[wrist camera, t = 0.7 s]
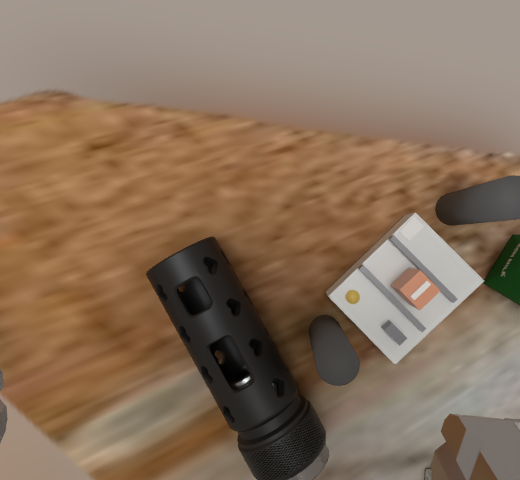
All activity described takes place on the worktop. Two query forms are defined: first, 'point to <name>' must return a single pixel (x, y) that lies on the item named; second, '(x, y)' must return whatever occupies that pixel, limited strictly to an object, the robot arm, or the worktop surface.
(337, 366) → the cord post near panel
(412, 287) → the block
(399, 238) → the panel
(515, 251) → the soya milk
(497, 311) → the worktop surface
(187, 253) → the muzzle brake
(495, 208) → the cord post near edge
